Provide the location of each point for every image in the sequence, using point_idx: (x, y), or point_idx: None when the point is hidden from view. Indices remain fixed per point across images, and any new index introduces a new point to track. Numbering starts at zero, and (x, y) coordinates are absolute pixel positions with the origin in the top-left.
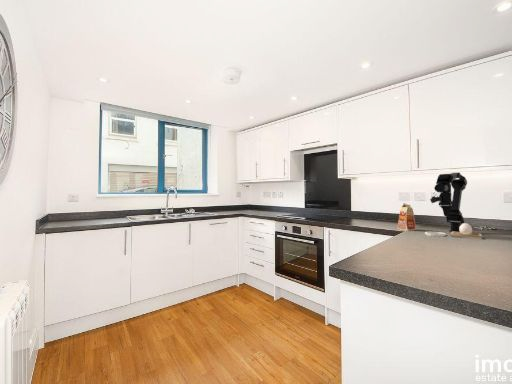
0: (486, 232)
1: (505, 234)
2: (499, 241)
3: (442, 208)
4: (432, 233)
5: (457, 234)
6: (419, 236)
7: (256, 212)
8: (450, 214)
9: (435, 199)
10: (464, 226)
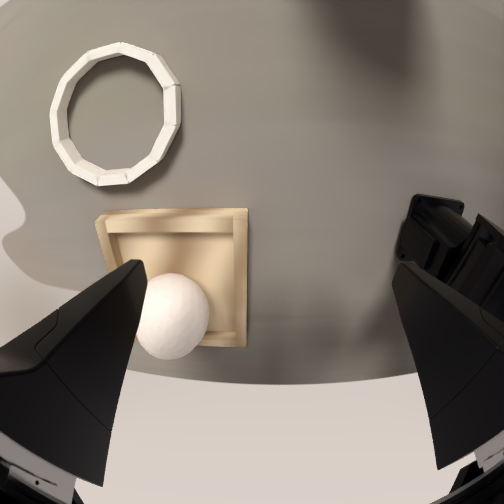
0: None
1: (389, 374)
2: (140, 361)
3: (3, 350)
4: (56, 115)
5: (105, 254)
6: (4, 80)
7: None
8: (487, 298)
9: None
10: None
